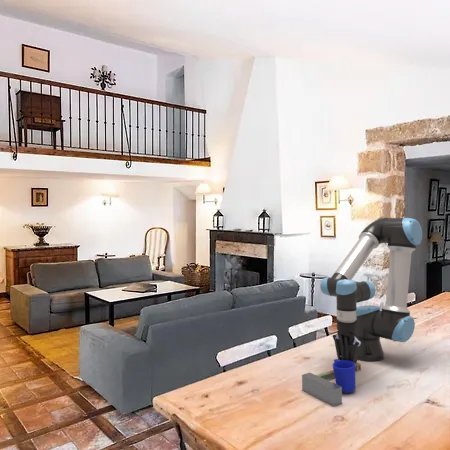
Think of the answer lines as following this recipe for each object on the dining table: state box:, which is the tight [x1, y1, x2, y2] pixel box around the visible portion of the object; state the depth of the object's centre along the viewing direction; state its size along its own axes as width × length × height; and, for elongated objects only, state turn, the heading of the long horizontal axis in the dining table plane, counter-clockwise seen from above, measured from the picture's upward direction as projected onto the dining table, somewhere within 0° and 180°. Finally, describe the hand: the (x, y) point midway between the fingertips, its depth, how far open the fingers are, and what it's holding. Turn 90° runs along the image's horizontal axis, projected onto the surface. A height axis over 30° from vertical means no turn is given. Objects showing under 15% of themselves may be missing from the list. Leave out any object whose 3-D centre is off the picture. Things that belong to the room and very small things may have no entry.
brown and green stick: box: [316, 362, 362, 381], centre depth 174 cm, size 2×30×3 cm, turn 123°
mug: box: [332, 358, 356, 394], centre depth 163 cm, size 8×12×10 cm
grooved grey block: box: [301, 372, 343, 407], centre depth 157 cm, size 16×5×6 cm, turn 33°
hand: (347, 379), depth 167 cm, fingers closed
